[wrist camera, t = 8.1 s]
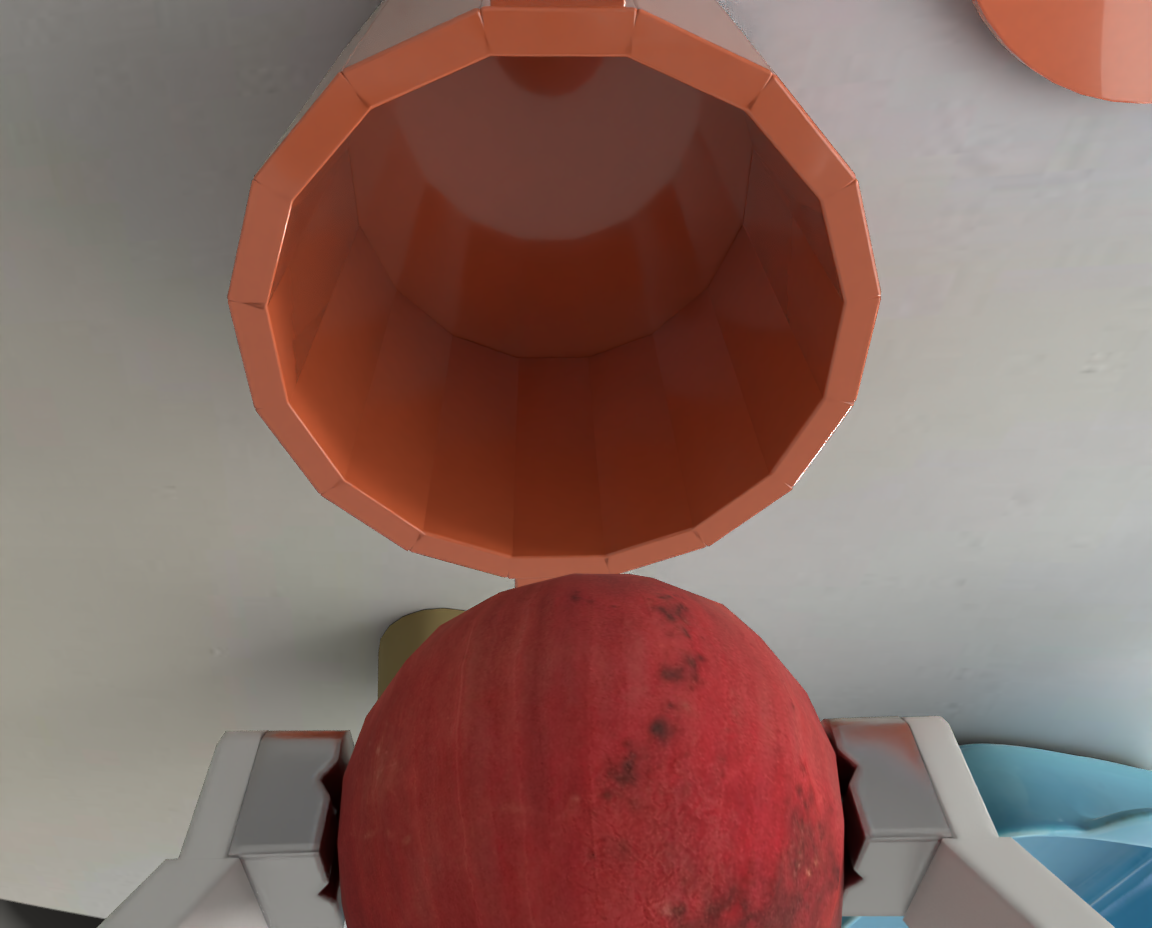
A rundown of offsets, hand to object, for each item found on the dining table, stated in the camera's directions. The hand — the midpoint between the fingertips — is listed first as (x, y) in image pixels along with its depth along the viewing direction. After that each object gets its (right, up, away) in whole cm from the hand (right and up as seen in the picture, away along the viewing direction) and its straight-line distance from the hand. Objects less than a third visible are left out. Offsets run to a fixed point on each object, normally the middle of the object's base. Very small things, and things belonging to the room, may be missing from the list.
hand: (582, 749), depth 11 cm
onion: (0, +2, +2) cm, 3 cm away
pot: (-1, +12, +16) cm, 20 cm away
